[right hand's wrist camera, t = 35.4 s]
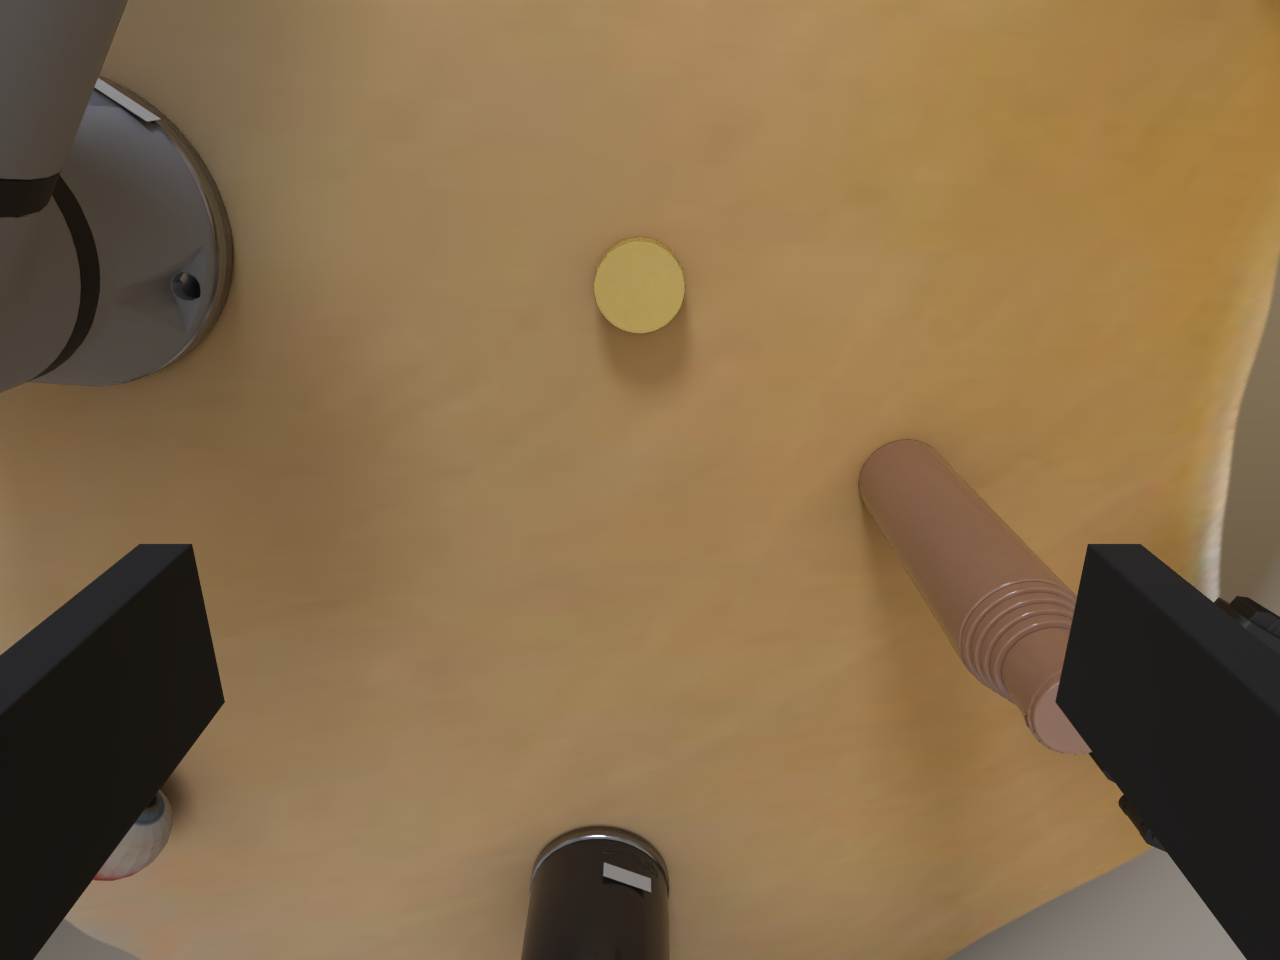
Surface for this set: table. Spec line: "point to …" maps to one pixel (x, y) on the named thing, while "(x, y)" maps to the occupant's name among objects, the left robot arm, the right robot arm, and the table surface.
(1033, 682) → the bottle
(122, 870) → the eyeball
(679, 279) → the cap
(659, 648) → the table surface
